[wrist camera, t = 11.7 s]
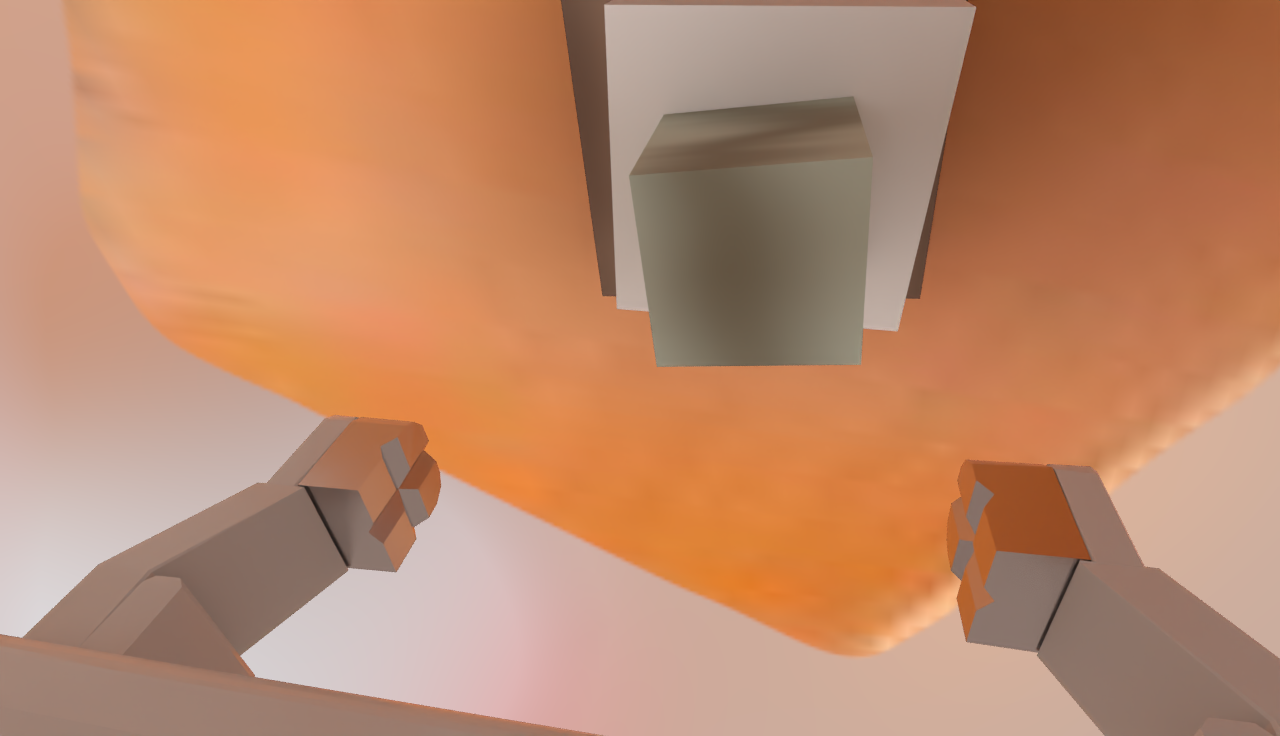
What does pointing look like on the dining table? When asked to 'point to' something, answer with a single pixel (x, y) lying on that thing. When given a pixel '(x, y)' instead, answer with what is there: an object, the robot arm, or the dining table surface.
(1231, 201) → the dining table surface
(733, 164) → the sage cube
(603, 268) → the walnut base slab
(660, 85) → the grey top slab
